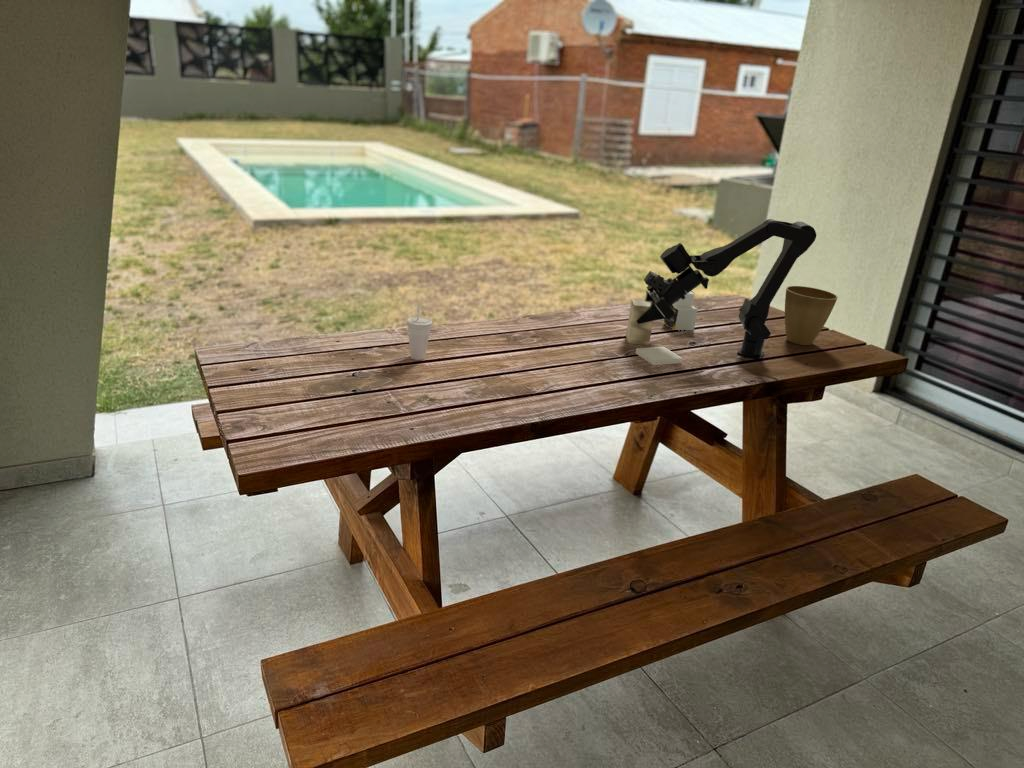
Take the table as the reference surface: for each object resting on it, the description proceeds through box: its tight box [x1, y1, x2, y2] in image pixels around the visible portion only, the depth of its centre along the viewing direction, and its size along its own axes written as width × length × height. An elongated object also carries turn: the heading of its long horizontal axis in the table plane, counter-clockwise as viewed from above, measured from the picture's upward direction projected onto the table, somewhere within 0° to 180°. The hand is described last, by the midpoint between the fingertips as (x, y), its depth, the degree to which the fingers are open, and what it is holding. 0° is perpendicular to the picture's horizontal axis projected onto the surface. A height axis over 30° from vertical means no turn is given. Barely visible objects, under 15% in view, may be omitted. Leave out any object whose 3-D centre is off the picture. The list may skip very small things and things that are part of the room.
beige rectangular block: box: [625, 298, 654, 346], centre depth 212 cm, size 6×6×12 cm
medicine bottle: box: [663, 290, 699, 332], centre depth 231 cm, size 7×7×12 cm
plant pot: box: [784, 285, 838, 346], centre depth 228 cm, size 15×15×16 cm
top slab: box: [635, 346, 683, 366], centre depth 201 cm, size 9×9×2 cm
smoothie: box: [406, 302, 433, 361], centre depth 185 cm, size 6×6×14 cm
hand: (636, 319), depth 212 cm, fingers closed on beige rectangular block, 6 cm apart
